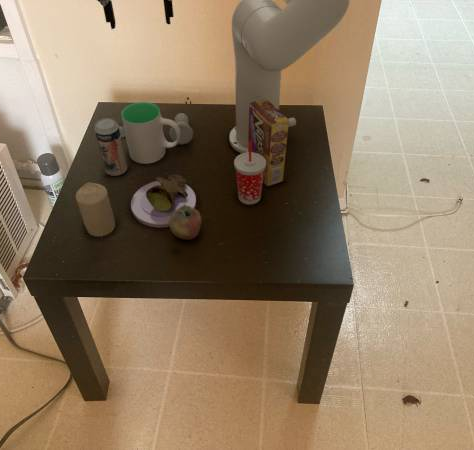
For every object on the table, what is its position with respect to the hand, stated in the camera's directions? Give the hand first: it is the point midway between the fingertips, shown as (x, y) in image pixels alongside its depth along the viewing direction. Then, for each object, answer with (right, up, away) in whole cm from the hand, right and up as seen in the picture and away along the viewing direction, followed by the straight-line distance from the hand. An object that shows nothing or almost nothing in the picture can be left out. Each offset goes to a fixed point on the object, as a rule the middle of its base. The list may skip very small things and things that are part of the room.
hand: (140, 23), depth 86 cm
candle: (-9, -36, +7) cm, 38 cm away
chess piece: (+4, -16, +23) cm, 28 cm away
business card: (-11, -14, +29) cm, 34 cm away
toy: (+1, -31, +7) cm, 32 cm away
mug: (-1, -20, +23) cm, 30 cm away
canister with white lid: (-9, -24, +19) cm, 32 cm away
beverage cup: (+20, -30, +13) cm, 38 cm away
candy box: (+23, -25, +18) cm, 38 cm away
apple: (+7, -38, +6) cm, 39 cm away
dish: (+2, -32, +11) cm, 34 cm away
